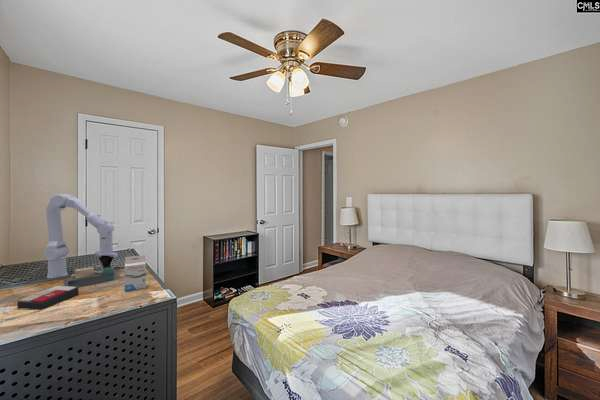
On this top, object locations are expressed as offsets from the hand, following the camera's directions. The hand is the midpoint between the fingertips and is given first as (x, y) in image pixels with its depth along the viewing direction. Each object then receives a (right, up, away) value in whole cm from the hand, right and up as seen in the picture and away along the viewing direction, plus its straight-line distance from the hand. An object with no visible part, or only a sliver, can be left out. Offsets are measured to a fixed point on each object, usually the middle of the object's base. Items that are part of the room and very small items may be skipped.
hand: (106, 269), depth 146 cm
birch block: (0, -2, -15) cm, 15 cm away
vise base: (+2, -2, -12) cm, 12 cm away
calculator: (+5, -4, -38) cm, 39 cm away
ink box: (+31, -3, -24) cm, 39 cm away
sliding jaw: (-1, -2, -8) cm, 8 cm away
